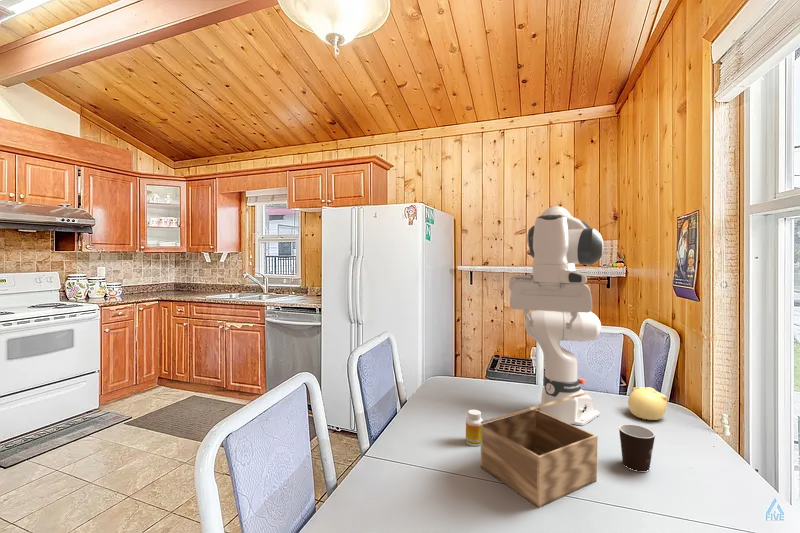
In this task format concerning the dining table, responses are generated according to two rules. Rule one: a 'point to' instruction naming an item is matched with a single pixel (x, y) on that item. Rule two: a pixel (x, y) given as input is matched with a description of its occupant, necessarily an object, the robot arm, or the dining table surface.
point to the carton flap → (534, 407)
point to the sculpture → (647, 403)
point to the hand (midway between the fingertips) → (549, 328)
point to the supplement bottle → (473, 428)
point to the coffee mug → (636, 446)
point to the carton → (539, 455)
